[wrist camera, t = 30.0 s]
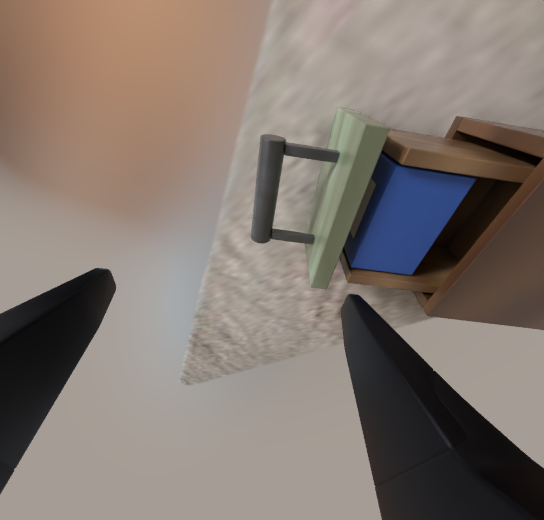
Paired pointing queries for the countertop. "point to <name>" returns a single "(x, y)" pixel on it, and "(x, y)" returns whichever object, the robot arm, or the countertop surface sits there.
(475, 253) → the cabinet
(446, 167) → the drawer
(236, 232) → the countertop surface
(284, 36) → the countertop surface
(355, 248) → the block
